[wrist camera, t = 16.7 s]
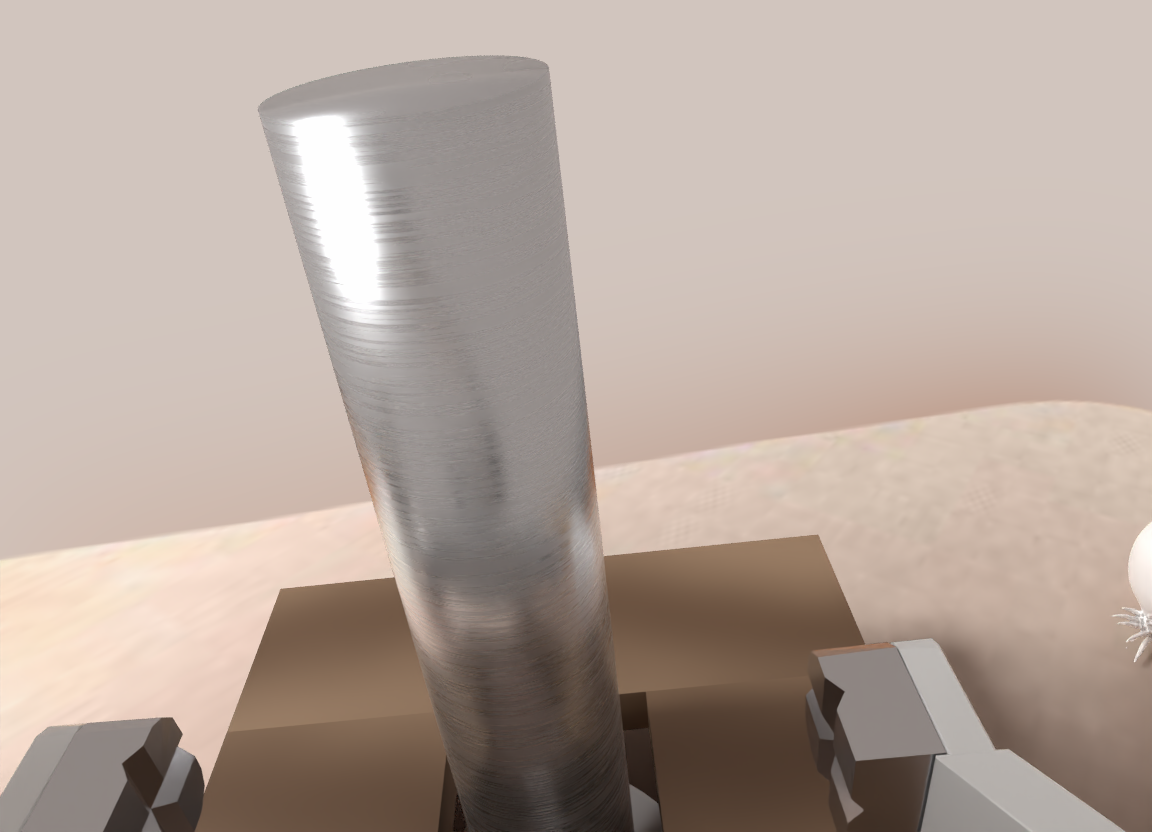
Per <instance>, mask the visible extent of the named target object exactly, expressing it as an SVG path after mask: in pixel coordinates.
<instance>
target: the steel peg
mask: <svg viewBox="0 0 1152 832" xmlns="http://www.w3.org/2000/svg"><path fill="white" fill-rule="evenodd" d="M258 112H259V115H260V119H261V122H262V125H263V129H264V133H265V136H266V139H267V142H268V146H269V149H270V153H271V156H272V160H273V163H274V167H275V170H276V174H277V177H278V180H279V184H280V187H281V191H282V194H283V197H284V201H285V204H286V208H287V211H288V215H289V218H290V221H291V225H292V228H293V231H294V235H295V239H296V242H297V245H298V249H299V252H300V256H301V259H302V262H303V266H304V269H305V273H306V276H307V279H308V283H309V286H310V290H311V293H312V297H313V300H314V303H315V307H316V310H317V314H318V317H319V320H320V324H321V327H322V331H323V334H324V338H325V341H326V344H327V348H328V351H329V355H330V358H331V361H332V365H333V368H334V372H335V375H336V379H337V382H338V386H339V389H340V392H341V395H342V399H343V403H344V406H345V409H346V413H347V416H348V420H349V423H350V426H351V430H352V433H353V437H354V440H355V443H356V447H357V450H358V454H359V457H360V460H361V464H362V468H363V471H364V474H365V478H366V481H367V485H368V488H369V492H370V495H371V498H372V502H373V505H374V509H375V512H376V515H377V519H378V522H379V526H380V529H381V533H382V536H383V539H384V543H385V546H386V550H387V553H388V557H389V560H390V563H391V567H392V570H393V574H394V577H395V580H396V584H397V587H398V591H399V594H400V598H401V601H402V604H403V608H404V611H405V615H406V618H407V621H408V625H409V628H410V632H411V635H412V639H413V642H414V645H415V649H416V652H417V656H418V659H419V663H420V666H421V669H422V673H423V676H424V680H425V683H426V686H427V690H428V693H429V697H430V700H431V704H432V707H433V710H434V714H435V717H436V721H437V724H438V727H439V731H440V734H441V738H442V741H443V745H444V748H445V751H446V755H447V758H448V762H449V765H450V769H451V772H452V775H453V779H454V782H455V786H456V789H457V792H458V796H459V799H460V803H461V806H462V810H463V813H464V816H465V820H466V823H467V826H466V827H465V829H464V830H463V832H662V826H661V818H660V810H659V804H658V803H657V802H655V801H654V800H653V799H652V798H650V797H649V796H648V795H646V794H645V793H644V792H642V791H641V790H639V789H637V788H635V787H634V786H632V785H630V784H629V778H628V769H627V760H626V751H625V742H624V733H623V724H622V716H621V707H620V698H619V689H618V680H617V671H616V662H615V653H614V644H613V635H612V626H611V617H610V609H609V600H608V591H607V582H606V573H605V564H604V555H603V546H602V537H601V528H600V519H599V510H598V502H597V493H596V484H595V475H594V466H593V457H592V449H591V440H590V431H589V422H588V413H587V403H586V395H585V386H584V377H583V368H582V360H581V350H580V341H579V332H578V323H577V315H576V306H575V296H574V287H573V279H572V270H571V262H570V252H569V243H568V234H567V225H566V216H565V208H564V198H563V190H562V181H561V172H560V163H559V154H558V145H557V136H556V127H555V118H554V110H553V100H552V92H551V82H550V74H549V67H548V65H547V64H546V63H544V62H542V61H539V60H536V59H531V58H526V57H517V56H465V57H451V58H450V57H449V58H438V59H429V60H420V61H412V62H405V63H398V64H391V65H385V66H379V67H373V68H368V69H363V70H357V71H352V72H348V73H343V74H339V75H335V76H331V77H326V78H323V79H319V80H315V81H312V82H308V83H305V84H302V85H299V86H296V87H293V88H290V89H287V90H285V91H282V92H280V93H278V94H275V95H273V96H272V97H270V98H268V99H266V100H265V101H264V102H262V103H261V104H260V106H259V108H258Z"/></svg>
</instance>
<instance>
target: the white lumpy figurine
mask: <svg viewBox="0 0 1152 832" xmlns="http://www.w3.org/2000/svg"><path fill="white" fill-rule="evenodd" d="M1128 575H1129V582H1130V586H1131V589H1132V591H1133V593H1134V595H1135V597H1136V599H1137V601H1138V602H1139V604H1140V607H1141V611H1139V610H1136V609H1133V608H1126V607H1125V608H1124V607H1123V608H1122V609H1124V610H1126V611H1128V612H1130V613H1133V614H1135V615H1136V616H1135V617H1134V616H1130V615H1126V614H1116V615H1113V616H1115V617H1120V618H1125V619H1127V620H1130V621H1129V622H1127V621H1126V622H1120V623H1118V624H1122V625H1127V626H1130V627H1134V628H1138V629H1140V630H1141V631H1140V632H1139V633H1137V634H1135V635H1133V636H1131V637H1130V638H1129V639H1128V640H1126V642H1128V641H1132V642H1133V641H1134V640H1135V639H1138V638H1142V637H1145V636H1147V637H1146V639H1145V640H1144V641H1143V642H1142V643H1141V645H1140V647H1139V649H1138V652H1137V654H1136V656H1135V659H1134V662H1136V661H1137V659H1138V657H1140V655H1141V654H1142V652H1143V651H1144V649H1145V648H1146V647H1147V646H1148V645H1149V643H1150V642H1152V522H1150V523H1149V524H1148V525H1147V526H1146V527H1145V528H1144V529H1143V530H1142V531H1141V533H1140V534H1139V535H1138V537H1137V539H1136V540H1135V542H1134V545H1133V547H1132V550H1131V553H1130V556H1129V561H1128ZM1113 616H1112V617H1113ZM1127 647H1128V646H1127ZM1126 649H1127V648H1126Z"/></svg>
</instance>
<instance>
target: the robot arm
mask: <svg viewBox="0 0 1152 832" xmlns="http://www.w3.org/2000/svg"><path fill="white" fill-rule="evenodd" d="M807 672H808V675H809V678H810V681H811V684H812V687H813V688H812V689H811V690H810V691H809V692H808V694H807V695H806V703H805V716H806V725H807V734H808V739H809V743H810V747H811V752H812V755H813V758H814V762H815V765H816V768H817V771H818V772H819V773H820V774H821V775H822V776H824V777H825V778H826V779H827V780H828V781H830V784H829V796H828V806H829V809H830V812H831V815H832V819H833V822H834V825H835V828H836V831H837V832H1126V831H1124V830H1123V829H1121V828H1120V827H1118V826H1117V825H1116V824H1114V823H1113V822H1111V821H1110V820H1109V819H1107V818H1106V817H1104V816H1103V815H1101V814H1100V813H1099V812H1097V811H1096V810H1094V809H1093V808H1092V807H1090V806H1089V805H1087V804H1086V803H1084V802H1083V801H1082V800H1080V799H1079V798H1077V797H1076V796H1075V795H1073V794H1072V793H1070V792H1069V791H1067V790H1066V789H1065V788H1063V787H1062V786H1060V785H1059V784H1058V783H1056V782H1055V781H1053V780H1052V779H1051V778H1049V777H1048V776H1046V775H1045V774H1043V773H1042V772H1041V771H1039V770H1038V769H1036V768H1035V767H1034V766H1032V765H1031V764H1029V763H1028V762H1026V761H1025V760H1024V759H1022V758H1021V757H1019V756H1018V755H1017V754H1015V753H1014V752H1012V751H1011V750H1009V749H1000V750H996V749H995V747H994V745H993V743H992V741H991V740H990V738H989V736H988V734H987V732H986V730H985V729H984V727H983V725H982V723H981V721H980V719H979V717H978V716H977V714H976V712H975V710H974V708H973V706H972V704H971V703H970V701H969V699H968V697H967V695H966V693H965V692H964V690H963V688H962V686H961V684H960V682H959V680H958V679H957V677H956V675H955V673H954V671H953V669H952V667H951V666H950V664H949V662H948V660H947V658H946V656H945V655H944V653H943V651H942V649H941V647H940V645H939V644H938V643H937V642H936V641H934V640H933V639H932V638H930V639H920V640H910V641H900V642H892V643H888V642H884V643H876V644H867V645H858V646H849V647H841V648H832V649H823V650H814V651H811V652H810V655H809V657H808V667H807ZM181 737H182V732H181V731H180V729H179V727H178V726H177V724H176V723H175V721H174V719H173V718H150V719H136V720H123V721H109V722H96V723H85V724H74V725H62V726H51V727H48V728H47V729H45V730H44V731H43V732H42V733H40V734H39V735H38V736H37V737H36V738H35V739H34V741H33V743H32V744H31V746H30V748H29V749H28V751H27V753H26V754H25V756H24V758H23V759H22V761H21V763H20V764H19V766H18V768H17V769H16V771H15V773H14V774H13V776H12V778H11V779H10V781H9V783H8V784H7V786H6V787H5V789H4V791H3V792H2V794H1V796H0V832H195V829H196V826H197V824H198V821H199V818H200V815H201V812H202V807H203V797H204V786H205V785H204V780H203V775H202V770H201V767H200V765H199V763H198V761H197V759H196V758H195V756H194V755H192V754H190V753H188V752H187V751H185V750H183V749H181V748H179V747H178V744H179V742H180V739H181Z"/></svg>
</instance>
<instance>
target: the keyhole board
mask: <svg viewBox="0 0 1152 832" xmlns="http://www.w3.org/2000/svg"><path fill="white" fill-rule="evenodd" d="M604 564H605V573H606V582H607V591H608V600H609V609H610V617H611V626H612V635H613V644H614V653H615V662H616V671H617V680H618V689H619V698H620V707H621V716H622V724H623V730H631V729H641V728H649V732H650V740H651V747H652V755H653V763H654V771H655V779H656V787H657V794H658V802H659V810H660V818H661V826H662V832H837V831H836V828H835V825H834V822H833V819H832V815H831V812H830V809H829V806H828V796H829V784H830V781H828V780H827V779H826V778H825V777H824V776H822V775H821V774H820V773H819V772H818V771H817V768H816V765H815V762H814V758H813V755H812V752H811V747H810V743H809V739H808V734H807V725H806V716H805V703H806V695H807V694H808V692H809V691H810V690H811V689H812V688H813V687H812V684H811V681H810V678H809V675H808V672H807V667H808V657H809V655H810V652H811V651H814V650H823V649H832V648H841V647H849V646H858V645H865V643H864V641H863V638H862V636H861V634H860V631H859V629H858V627H857V624H856V622H855V620H854V617H853V615H852V613H851V610H850V608H849V606H848V603H847V601H846V599H845V596H844V594H843V592H842V589H841V587H840V585H839V582H838V580H837V578H836V575H835V573H834V571H833V568H832V566H831V564H830V561H829V559H828V557H827V554H826V552H825V550H824V547H823V545H822V543H821V540H820V538H819V536H818V535H810V536H800V537H790V538H780V539H771V540H761V541H751V542H741V543H731V544H721V545H711V546H701V547H691V548H681V549H672V550H662V551H652V552H642V553H632V554H622V555H612V556H604ZM456 794H457V789H456V786H455V782H454V779H453V775H452V772H451V769H450V765H449V762H448V758H447V755H446V751H445V748H444V745H443V741H442V738H441V734H440V731H439V727H438V724H437V721H436V717H435V714H434V710H433V707H432V704H431V700H430V697H429V693H428V690H427V686H426V683H425V680H424V676H423V673H422V669H421V666H420V663H419V659H418V656H417V652H416V649H415V645H414V642H413V639H412V635H411V632H410V628H409V625H408V621H407V618H406V615H405V611H404V608H403V604H402V601H401V598H400V594H399V591H398V587H397V584H396V580H395V577H394V578H385V579H375V580H365V581H355V582H345V583H335V584H325V585H315V586H305V587H295V588H286V589H280V592H279V595H278V597H277V600H276V603H275V605H274V608H273V611H272V614H271V616H270V619H269V622H268V624H267V627H266V630H265V632H264V635H263V638H262V640H261V643H260V646H259V648H258V651H257V654H256V656H255V659H254V662H253V664H252V667H251V670H250V672H249V675H248V678H247V680H246V683H245V686H244V688H243V691H242V694H241V696H240V699H239V702H238V704H237V707H236V710H235V712H234V715H233V718H232V720H231V723H230V726H229V728H228V731H227V734H226V736H225V739H224V742H223V745H222V747H221V750H220V753H219V755H218V758H217V761H216V763H215V766H214V769H213V771H212V774H211V777H210V779H209V782H208V785H207V787H206V790H205V793H204V797H203V807H202V812H201V815H200V818H199V821H198V824H197V826H196V829H195V832H453V825H454V815H455V804H456Z"/></svg>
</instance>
